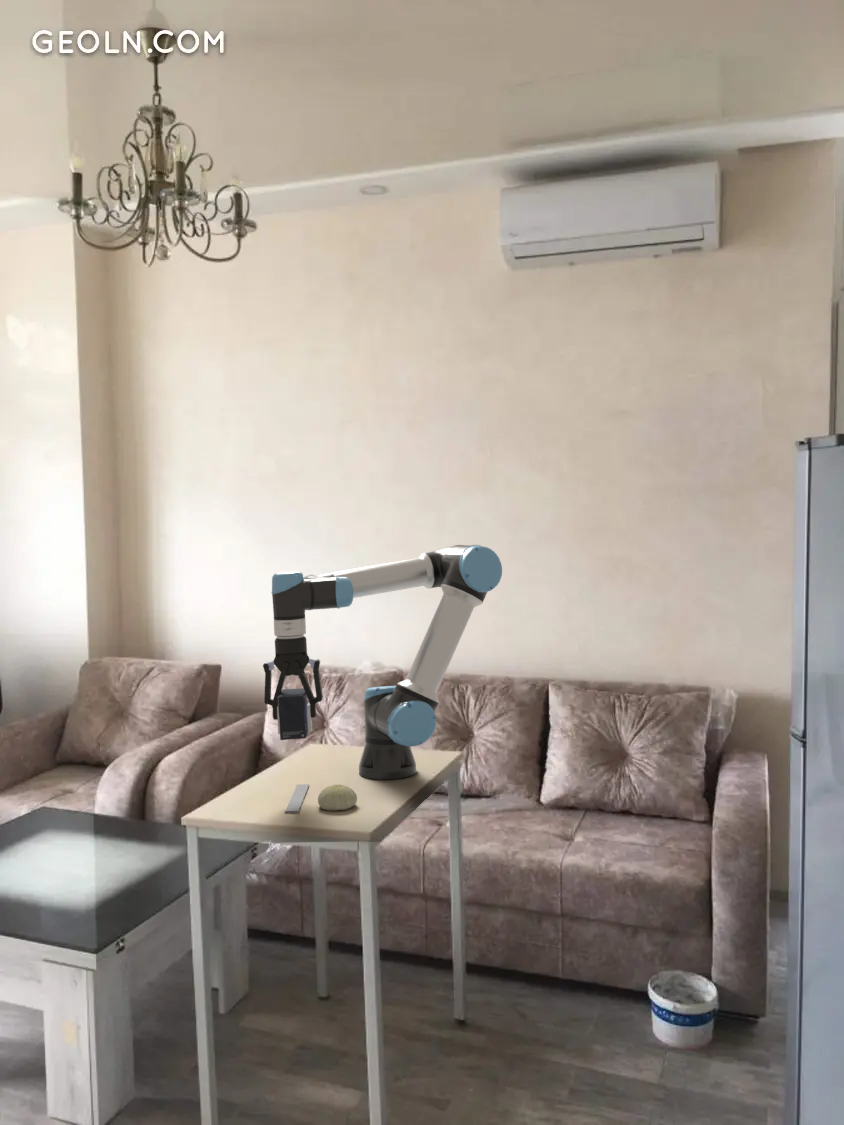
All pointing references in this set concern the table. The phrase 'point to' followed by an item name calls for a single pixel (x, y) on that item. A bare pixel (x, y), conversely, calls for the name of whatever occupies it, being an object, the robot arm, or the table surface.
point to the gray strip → (297, 799)
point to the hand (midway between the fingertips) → (295, 731)
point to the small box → (293, 714)
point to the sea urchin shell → (337, 798)
